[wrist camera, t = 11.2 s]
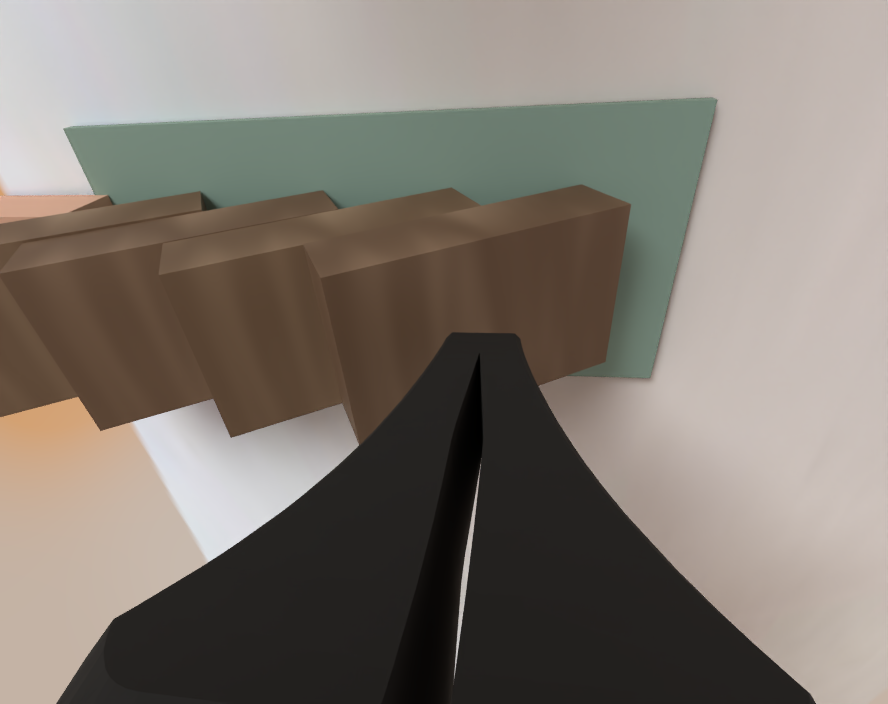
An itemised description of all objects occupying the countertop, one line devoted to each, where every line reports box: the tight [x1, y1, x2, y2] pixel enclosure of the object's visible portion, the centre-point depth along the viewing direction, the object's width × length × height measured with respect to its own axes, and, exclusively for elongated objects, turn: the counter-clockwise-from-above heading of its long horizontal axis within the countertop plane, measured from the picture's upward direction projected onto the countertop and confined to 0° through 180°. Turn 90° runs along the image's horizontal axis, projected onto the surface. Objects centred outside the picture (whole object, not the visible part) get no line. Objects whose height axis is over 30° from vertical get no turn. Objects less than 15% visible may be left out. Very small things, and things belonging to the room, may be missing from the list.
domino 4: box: [303, 184, 631, 445], centre depth 12 cm, size 2×4×7 cm
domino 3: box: [159, 187, 481, 438], centre depth 12 cm, size 2×4×7 cm
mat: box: [64, 98, 717, 378], centre depth 14 cm, size 17×8×1 cm, turn 93°
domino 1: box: [0, 191, 207, 417], centre depth 13 cm, size 2×4×7 cm
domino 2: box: [0, 190, 338, 431], centre depth 13 cm, size 2×4×7 cm
